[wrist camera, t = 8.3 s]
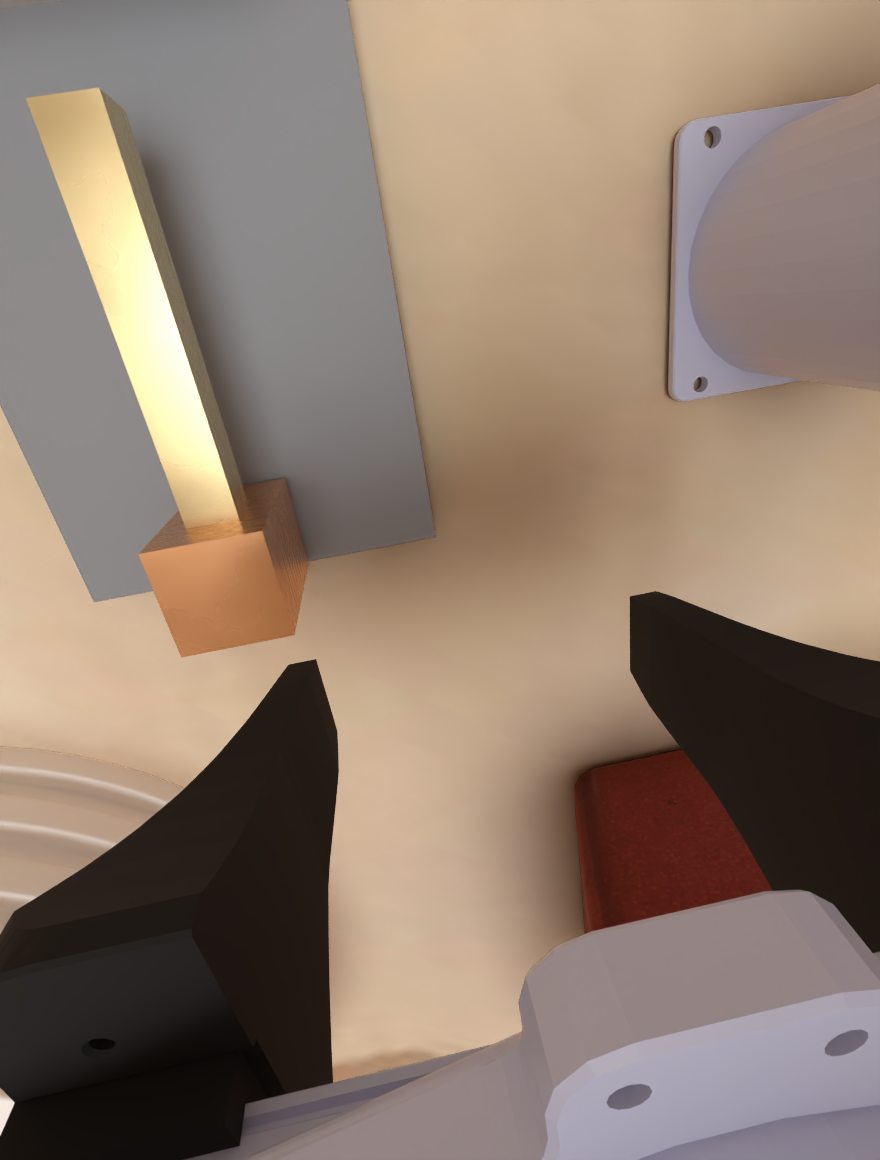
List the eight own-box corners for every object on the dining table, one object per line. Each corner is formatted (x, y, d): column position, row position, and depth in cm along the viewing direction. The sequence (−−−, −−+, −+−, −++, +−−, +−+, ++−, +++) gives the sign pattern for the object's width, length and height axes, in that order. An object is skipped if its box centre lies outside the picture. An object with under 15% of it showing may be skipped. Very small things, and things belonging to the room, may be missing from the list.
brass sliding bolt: (190, 135, 14) (114, 53, 10) (309, 561, 20) (294, 635, 15) (70, 153, 14) (-62, 78, 10) (221, 578, 19) (181, 657, 15)
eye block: (291, -315, 13) (224, -948, 6) (431, 525, 21) (462, 614, 15) (-278, -254, 12) (-990, -891, 6) (108, 587, 21) (-2, 706, 14)
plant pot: (533, 976, 34) (672, 1497, 19) (495, 735, 26) (688, 1320, 11) (832, 903, 35) (1189, 1346, 20) (888, 647, 27) (1570, 1075, 12)
